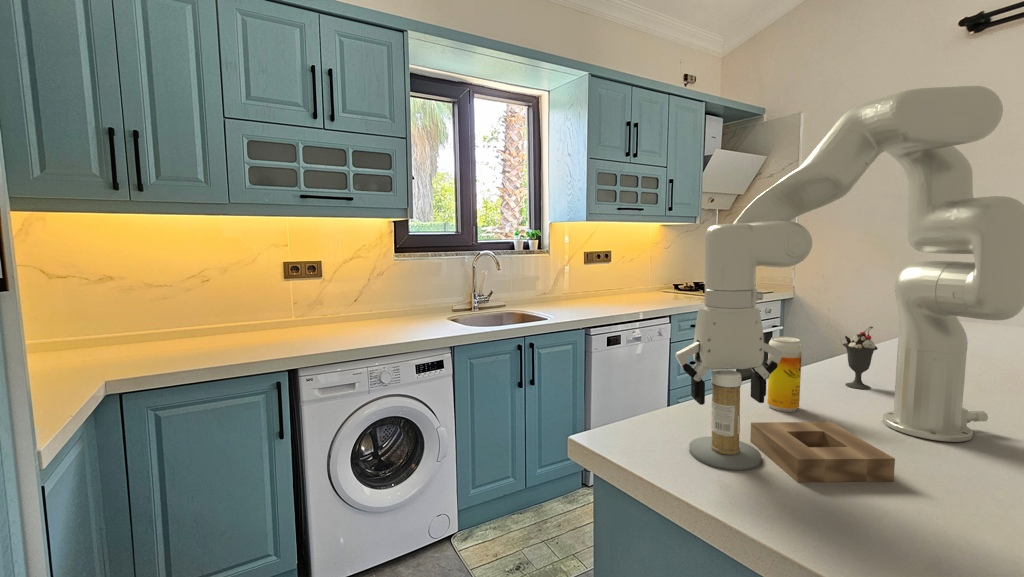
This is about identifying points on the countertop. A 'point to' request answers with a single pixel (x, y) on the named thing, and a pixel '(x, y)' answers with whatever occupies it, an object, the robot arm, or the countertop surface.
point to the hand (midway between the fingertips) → (728, 401)
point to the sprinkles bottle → (725, 411)
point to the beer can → (785, 375)
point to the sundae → (859, 357)
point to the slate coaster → (724, 455)
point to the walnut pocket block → (821, 452)
